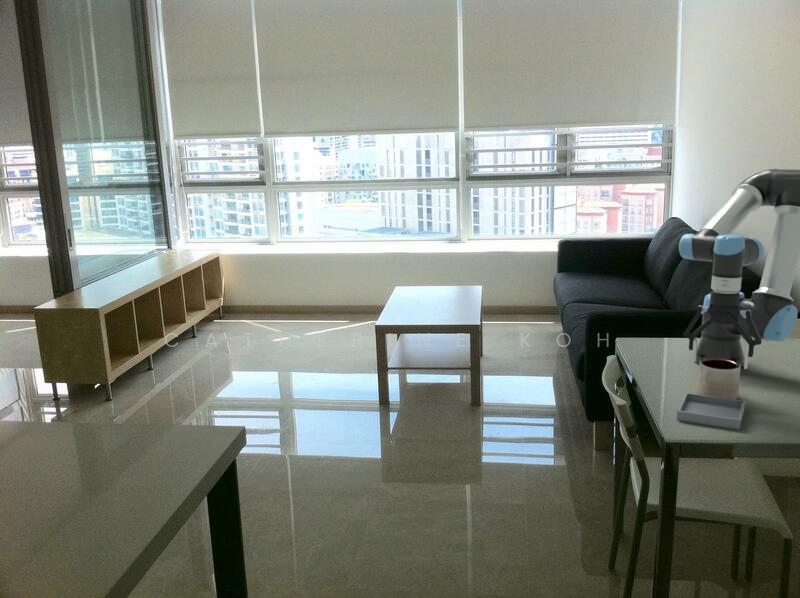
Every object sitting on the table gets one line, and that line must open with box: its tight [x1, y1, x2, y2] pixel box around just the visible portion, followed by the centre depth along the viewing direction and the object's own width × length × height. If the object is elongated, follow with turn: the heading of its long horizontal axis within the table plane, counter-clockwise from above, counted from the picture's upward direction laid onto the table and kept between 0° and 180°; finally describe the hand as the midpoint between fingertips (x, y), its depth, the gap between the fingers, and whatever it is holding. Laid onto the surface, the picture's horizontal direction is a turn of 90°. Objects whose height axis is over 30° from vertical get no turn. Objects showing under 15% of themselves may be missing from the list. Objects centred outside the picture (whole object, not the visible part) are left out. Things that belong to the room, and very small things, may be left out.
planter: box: [697, 358, 742, 400], centre depth 211 cm, size 11×11×10 cm
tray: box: [676, 392, 746, 431], centre depth 198 cm, size 15×15×2 cm
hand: (719, 364), depth 210 cm, fingers open, 13 cm apart
